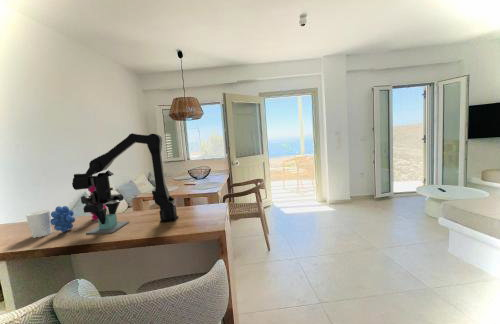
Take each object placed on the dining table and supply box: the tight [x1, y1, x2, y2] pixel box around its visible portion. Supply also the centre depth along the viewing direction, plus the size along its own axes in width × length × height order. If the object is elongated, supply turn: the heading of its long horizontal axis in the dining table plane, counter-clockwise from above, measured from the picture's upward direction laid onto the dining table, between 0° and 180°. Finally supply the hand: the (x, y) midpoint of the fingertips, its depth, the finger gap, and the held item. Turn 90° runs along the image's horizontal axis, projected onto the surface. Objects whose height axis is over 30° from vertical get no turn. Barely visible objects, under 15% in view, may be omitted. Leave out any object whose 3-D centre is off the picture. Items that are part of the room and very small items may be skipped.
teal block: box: [97, 213, 118, 229], centre depth 110 cm, size 5×5×5 cm
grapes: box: [50, 205, 76, 233], centre depth 109 cm, size 12×7×12 cm, turn 175°
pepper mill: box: [87, 185, 108, 221], centre depth 125 cm, size 7×7×20 cm
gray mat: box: [85, 220, 130, 235], centre depth 110 cm, size 12×12×1 cm
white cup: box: [26, 209, 53, 239], centre depth 108 cm, size 8×8×10 cm
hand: (107, 221), depth 110 cm, fingers open, 6 cm apart
